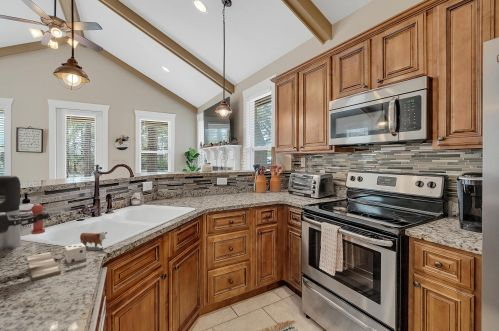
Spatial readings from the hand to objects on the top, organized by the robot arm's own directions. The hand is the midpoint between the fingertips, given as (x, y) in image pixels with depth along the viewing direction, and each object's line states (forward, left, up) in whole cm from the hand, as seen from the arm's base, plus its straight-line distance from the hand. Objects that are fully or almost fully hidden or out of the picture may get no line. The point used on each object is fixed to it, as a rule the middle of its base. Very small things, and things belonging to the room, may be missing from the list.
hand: (46, 215), depth 104 cm
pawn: (+1, -3, -6) cm, 7 cm away
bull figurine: (+2, +16, -18) cm, 25 cm away
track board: (+8, -3, -18) cm, 20 cm away
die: (+12, +7, -18) cm, 23 cm away
